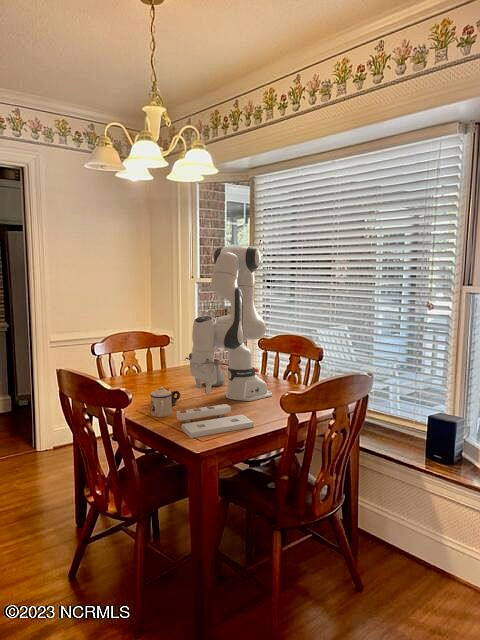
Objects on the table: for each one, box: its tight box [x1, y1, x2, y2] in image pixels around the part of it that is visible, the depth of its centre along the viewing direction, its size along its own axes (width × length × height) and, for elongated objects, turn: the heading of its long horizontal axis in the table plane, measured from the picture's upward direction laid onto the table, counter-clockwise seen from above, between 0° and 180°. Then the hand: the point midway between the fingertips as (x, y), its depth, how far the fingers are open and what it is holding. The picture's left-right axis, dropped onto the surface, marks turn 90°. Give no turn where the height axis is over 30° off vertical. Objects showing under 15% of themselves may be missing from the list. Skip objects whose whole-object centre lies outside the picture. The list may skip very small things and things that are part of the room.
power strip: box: [175, 403, 232, 424], centre depth 185 cm, size 22×4×5 cm, turn 116°
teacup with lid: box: [149, 386, 173, 418], centre depth 190 cm, size 12×9×12 cm
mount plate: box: [181, 414, 255, 439], centre depth 175 cm, size 26×10×2 cm, turn 116°
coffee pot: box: [184, 356, 226, 387], centre depth 240 cm, size 21×12×15 cm, turn 96°
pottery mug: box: [166, 388, 181, 407], centre depth 206 cm, size 12×10×8 cm
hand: (203, 391), depth 184 cm, fingers open, 8 cm apart
